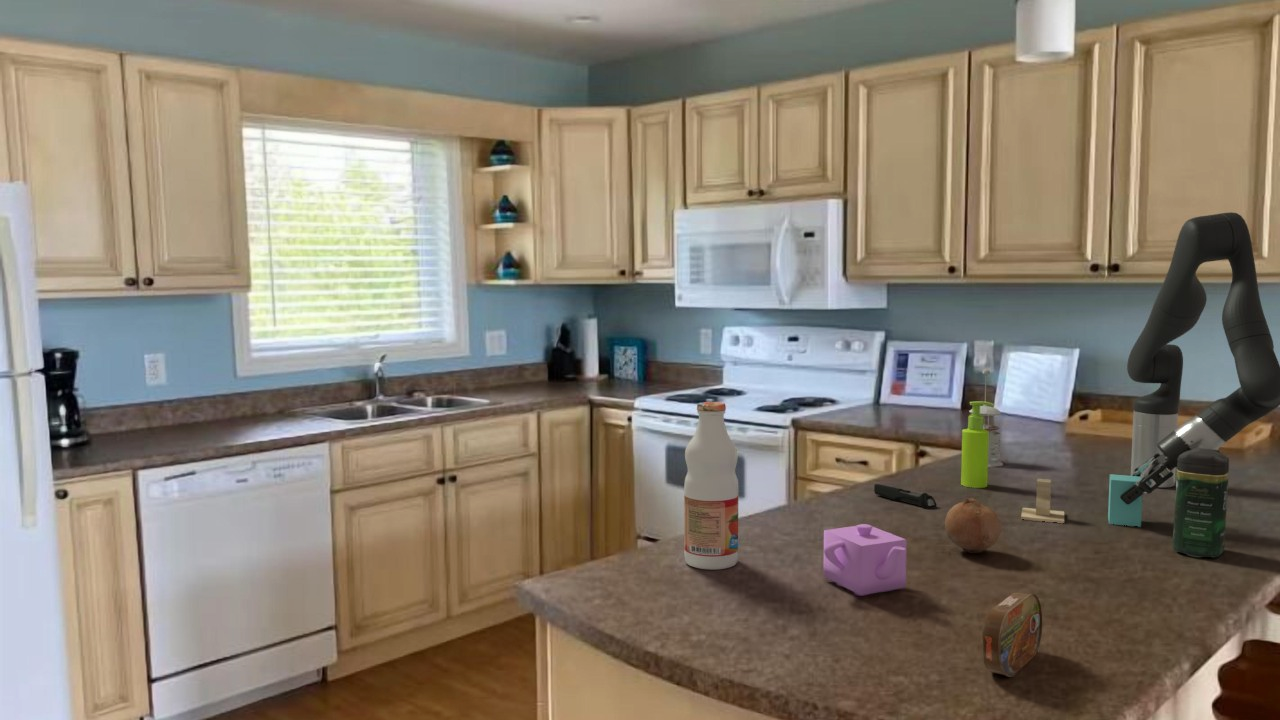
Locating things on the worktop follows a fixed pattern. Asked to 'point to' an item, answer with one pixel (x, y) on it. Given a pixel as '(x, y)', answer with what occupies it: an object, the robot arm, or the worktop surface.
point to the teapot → (864, 559)
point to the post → (1043, 505)
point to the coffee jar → (1201, 502)
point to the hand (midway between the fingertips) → (1122, 496)
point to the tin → (1012, 633)
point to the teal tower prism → (1117, 507)
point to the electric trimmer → (905, 496)
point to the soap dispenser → (975, 449)
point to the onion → (972, 526)
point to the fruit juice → (711, 493)
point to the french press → (991, 431)
